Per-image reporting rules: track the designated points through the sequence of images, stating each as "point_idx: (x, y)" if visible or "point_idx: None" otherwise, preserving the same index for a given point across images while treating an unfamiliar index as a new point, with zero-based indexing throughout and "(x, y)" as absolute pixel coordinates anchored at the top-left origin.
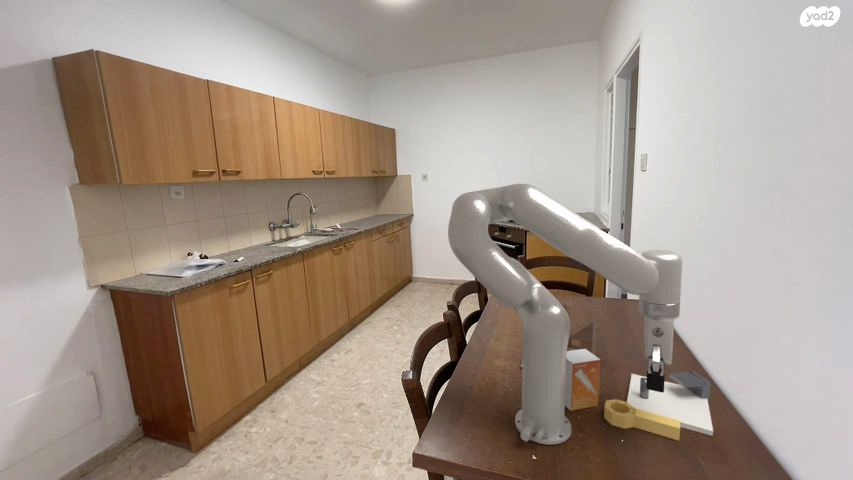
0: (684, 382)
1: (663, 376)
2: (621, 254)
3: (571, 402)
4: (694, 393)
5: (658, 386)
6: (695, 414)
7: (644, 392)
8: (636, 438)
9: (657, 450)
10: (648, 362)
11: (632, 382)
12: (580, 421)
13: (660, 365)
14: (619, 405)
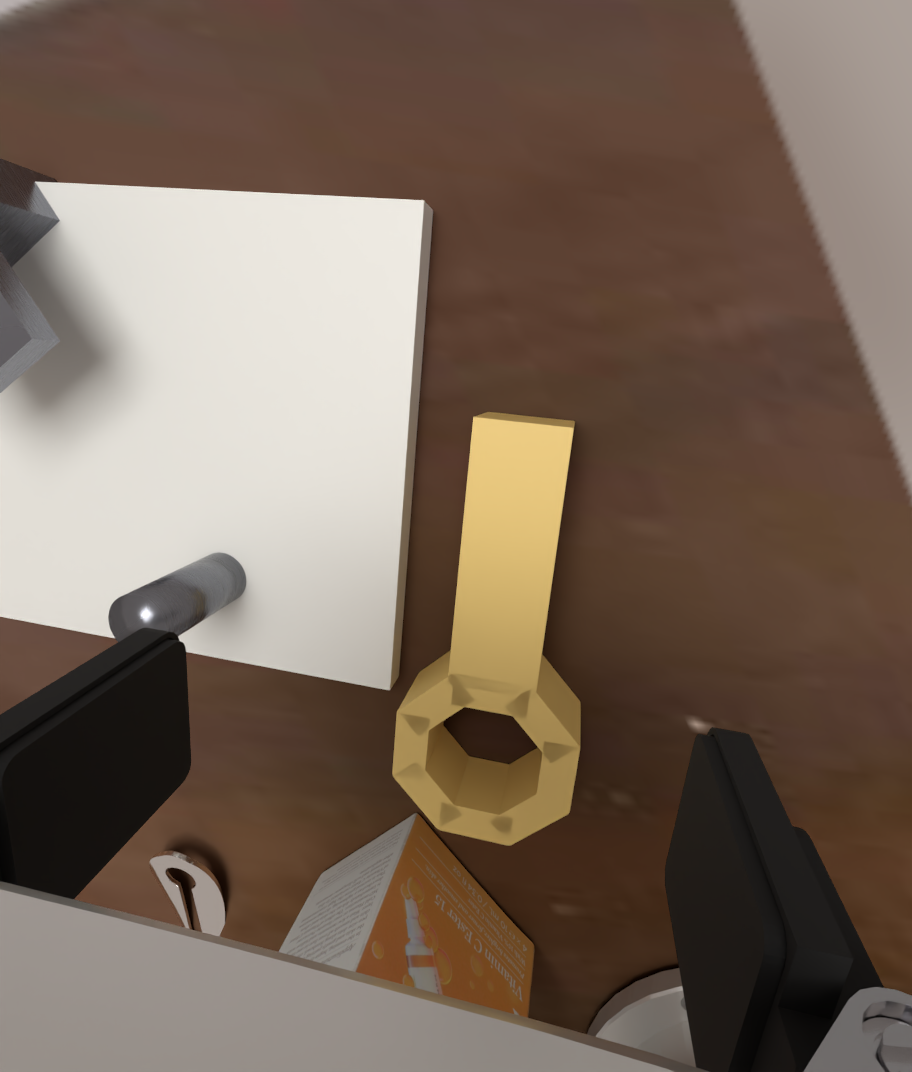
0: (12, 335)
1: (834, 949)
2: None
3: (529, 997)
4: (17, 259)
5: (812, 862)
6: (272, 288)
7: (220, 595)
8: (649, 650)
9: (723, 554)
10: (134, 824)
11: (92, 622)
12: (606, 906)
13: (139, 704)
14: (430, 747)
